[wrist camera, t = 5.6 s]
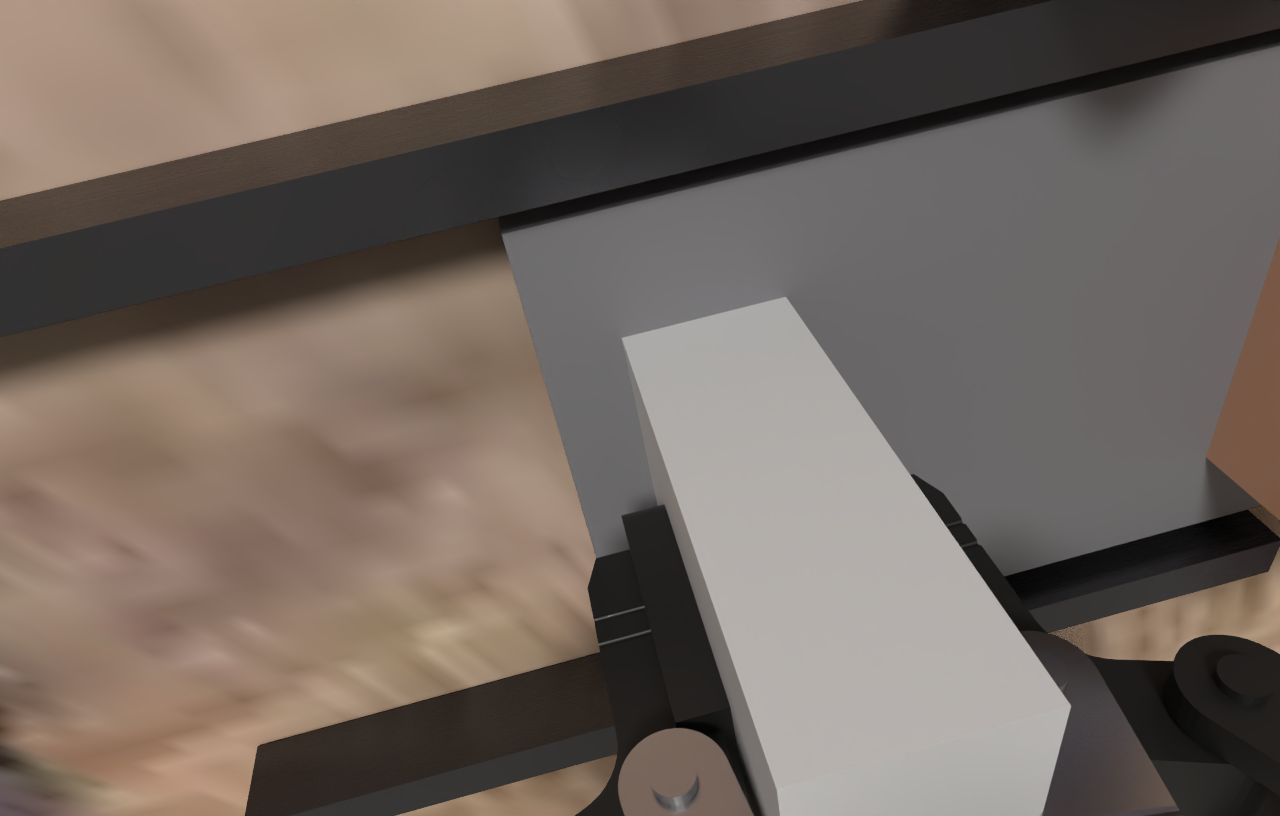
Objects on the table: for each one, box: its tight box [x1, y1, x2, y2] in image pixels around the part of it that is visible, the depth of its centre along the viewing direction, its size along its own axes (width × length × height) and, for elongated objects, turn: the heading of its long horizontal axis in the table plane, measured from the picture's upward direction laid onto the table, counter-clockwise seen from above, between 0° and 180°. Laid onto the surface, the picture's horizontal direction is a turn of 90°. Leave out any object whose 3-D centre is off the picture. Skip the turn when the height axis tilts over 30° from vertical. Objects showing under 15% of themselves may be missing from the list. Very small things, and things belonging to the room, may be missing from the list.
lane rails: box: [0, 0, 1280, 816], centre depth 14 cm, size 22×13×2 cm, turn 99°
